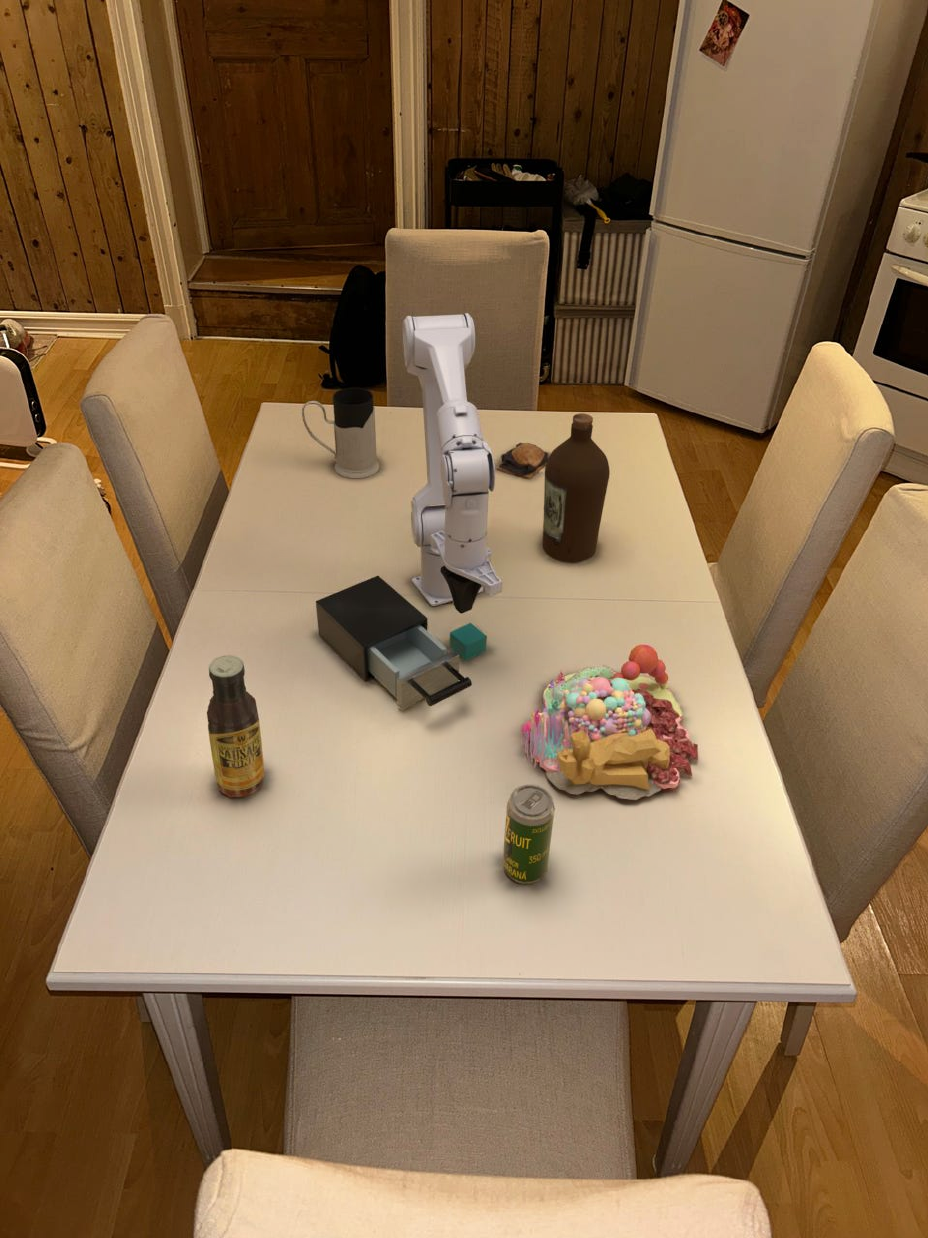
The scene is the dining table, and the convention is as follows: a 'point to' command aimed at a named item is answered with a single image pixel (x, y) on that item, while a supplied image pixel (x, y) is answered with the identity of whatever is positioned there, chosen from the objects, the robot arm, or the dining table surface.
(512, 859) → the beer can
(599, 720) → the candy landscape model
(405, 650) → the drawer
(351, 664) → the black storage box
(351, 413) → the glass holder
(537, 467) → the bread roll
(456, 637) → the block
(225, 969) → the dining table surface
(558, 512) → the olive oil
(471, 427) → the robot arm
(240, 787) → the sauce bottle
